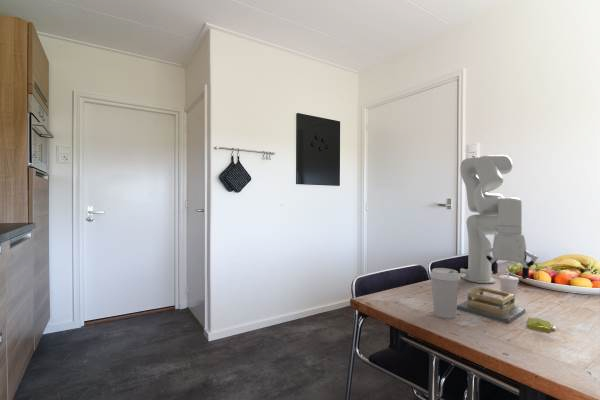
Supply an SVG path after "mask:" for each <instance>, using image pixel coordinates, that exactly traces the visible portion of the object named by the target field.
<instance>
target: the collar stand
mask: <svg viewBox="0 0 600 400" xmlns="http://www.w3.org/2000/svg"><path fill="white" fill-rule="evenodd" d="M484 292H485V293H487V294H492V295H496V296H497V295H498V296H501V298H498V297H493V296H489V295H484ZM502 296H505V297H504V298H502ZM466 299H467V300H466V301H464V302H462V303H459V304H456V310H459V311H463V312H467V313H470V314H474V315H477V316H481V317H485V318H488V319H491V320H495V321H499V322H502V323H506V324H510V323H511V322H513V321H514V320H515V319H517V318H519V317H520V316H522V315H523V314H525V313H526V308H524V307H522V306H517V305H515V303H516V302H515V301H516V297H515V294H511V293H506V292H502V291H501V290H496V289H492V288H488V287H483V286H480V287H477V288H475V289H473V290H470V291H468V292H467V298H466Z"/></svg>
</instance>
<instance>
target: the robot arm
mask: <svg viewBox="0 0 600 400" xmlns="http://www.w3.org/2000/svg"><path fill="white" fill-rule="evenodd" d="M459 169H460V176H461V179H462V181H463V183H464V185H465V190H466V201H467V206H468V210H469V211H470V212H471V213H476V214H472V215H469V216H468V217H467V219H466V221H465V222H466V223H465V224H466V230H467V238H468V239H467V240H468V242H467V243H468V244H467V246H468V251H467V252H468V253H467V254H468V258H467V259H468V263H467V264H468V265H467V267H468V268H467V269H465V268H463V267H462V268H460V269H459V272H460V273H461V274H465V275H464V279H465V280H466V281H469V282H472V283H475V284H476V283H478V284H494V283H496V279H495V278H494V277H492V274H493V275H496V274H498V273H499V271H498V269H499V267H498V266H499V264H498V261H503V262H504V261H505V262H512V263H513V262H514V263H519V264H520V265H522V269H521V270H522V272H521V275H522V276H521V278H522V279H523V280H526V279H527V278H528V277H529V276H530V268H531V267H532V266H534V265H535V263H536V262H537V261H538V259H539V256H537V255H535V254H533V253H532V252H530V251H528V250H527V246H526V245H527V244H526V238H525V235H524V234H522V233H523V232H522V230H523V228H522V227H523V226H522V224H523V223H522V222H523V221H522V215H523V214H522V212H523V211H522V208H523V206H522V205H523V204H522V200H521V198H519V197H504V196H503V194H501V193H491V192H492V191H495V190H496V189H499V188H500V187H501V186H502V184H503V182H504V178H503V176H502V175H507V174H509V173H510V172H511V171H512V169H513V161H512V159H511V158H510V157H509V156H508V155H506V154H505V155H504V154H499V155H497V154H495V155H493V154H491V155H482V156H478V157H468V158H467V157H466V158H465V159H463V160H462V161H461V163H460V168H459ZM489 192H490V193H489ZM477 213H478V214H477ZM488 235H489V236H490V235H491V236H493V235H494V236H493V240H492V241H493V242H492V244H491V241H490V240H489V239H488V238H487V236H488ZM528 257H529V258H531V259H530V261H529V262H528V261H527V258H528Z"/></svg>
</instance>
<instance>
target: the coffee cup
mask: <svg viewBox="0 0 600 400" xmlns="http://www.w3.org/2000/svg"><path fill="white" fill-rule="evenodd" d="M429 277H430V282H431V293H432V305H433V306H432V307H433V314H434V315H435V316H436V317H438V318H443V319H449V320H450V319H454V318H456V313H457V305H458V304H457V303H458V301H457V300H458V293H459V291H458V290H459V283H460V280H461V279H462V278H461V275H460V274H459V271H458V270H455V269H453V268H452V269H451V268H445V267H435V268H432V269H431V271H430V273H429Z"/></svg>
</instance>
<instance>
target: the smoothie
mask: <svg viewBox="0 0 600 400" xmlns="http://www.w3.org/2000/svg"><path fill="white" fill-rule="evenodd" d="M509 268H510V265H506V274H503V275H502V274H500V275H498V280H499V286H500V291H502V292H506V293H511V294H515V298H517V297H516V296H517V290H518V283H519V282H520V278H519V277H517V276H513V275H509V272H510V269H509ZM504 297H505V296H501V299H502V298H504Z"/></svg>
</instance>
